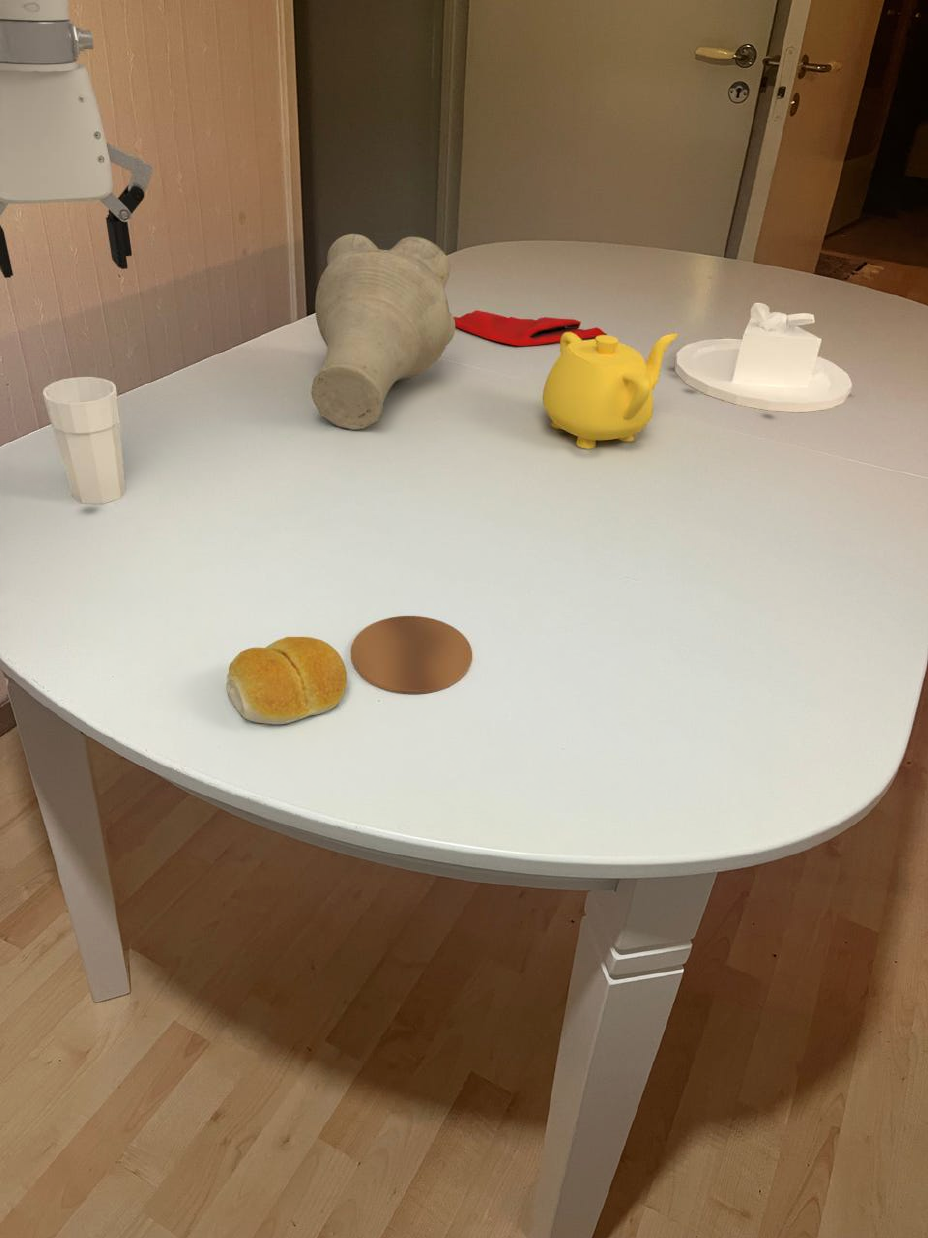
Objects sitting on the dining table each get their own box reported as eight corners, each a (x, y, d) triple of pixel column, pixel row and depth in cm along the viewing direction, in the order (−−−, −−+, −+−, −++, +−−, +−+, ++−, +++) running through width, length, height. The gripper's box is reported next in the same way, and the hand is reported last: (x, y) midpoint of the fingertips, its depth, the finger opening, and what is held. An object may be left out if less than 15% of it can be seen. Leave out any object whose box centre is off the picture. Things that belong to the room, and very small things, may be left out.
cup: (50, 499, 93) (27, 395, 87) (93, 471, 98) (74, 372, 92) (105, 513, 92) (86, 409, 85) (146, 485, 97) (130, 384, 90)
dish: (875, 416, 125) (903, 334, 118) (691, 405, 124) (710, 321, 117) (818, 352, 145) (840, 278, 138) (660, 342, 144) (674, 267, 137)
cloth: (425, 332, 141) (426, 317, 139) (453, 307, 151) (454, 293, 150) (593, 360, 135) (595, 345, 134) (609, 332, 146) (612, 318, 145)
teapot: (647, 465, 108) (666, 368, 101) (528, 443, 111) (539, 347, 104) (660, 420, 119) (679, 329, 112) (552, 401, 122) (563, 311, 115)
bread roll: (364, 704, 71) (364, 663, 69) (254, 742, 67) (250, 700, 65) (318, 645, 77) (317, 606, 74) (213, 677, 72) (208, 637, 70)
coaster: (375, 706, 71) (375, 702, 71) (334, 632, 78) (334, 629, 78) (492, 677, 75) (492, 674, 74) (442, 610, 82) (442, 606, 82)
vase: (430, 359, 96) (483, 229, 113) (229, 301, 95) (313, 180, 113) (404, 506, 112) (453, 373, 130) (232, 457, 112) (305, 331, 130)
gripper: (125, 42, 79) (152, 251, 89) (-104, 37, 72) (-47, 265, 82) (147, 52, 74) (173, 272, 84) (-97, 47, 66) (-37, 289, 76)
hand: (64, 268), depth 83 cm, fingers open, 9 cm apart
